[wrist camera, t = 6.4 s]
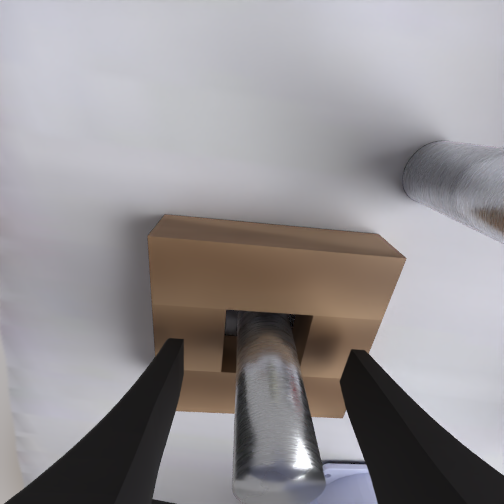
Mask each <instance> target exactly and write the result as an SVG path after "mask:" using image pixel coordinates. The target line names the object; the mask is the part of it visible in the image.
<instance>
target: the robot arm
mask: <svg viewBox="0 0 504 504" xmlns="http://www.w3.org/2000/svg"><path fill="white" fill-rule="evenodd" d="M183 376H184V339H177V338H168V339H167V340H166V341H165V343H164V345H163V346H162V348H161V349H160V351H159V352H158V354H157V355H156V356H155V358H154V359H153V361H152V362H151V363H150V365H149V366H148V367H147V369H146V370H145V371H144V372H143V374H142V375H141V376H140V377H139V379H138V380H137V381H136V382H135V384H134V385H133V386H132V387H131V388H130V390H129V391H128V392H127V393H126V394H125V395H124V396H123V398H122V399H121V400H120V401H119V402H118V403H117V404H116V405H115V406H114V408H113V409H112V410H111V411H110V412H109V413H108V414H107V415H106V416H105V417H104V418H103V419H102V420H101V421H100V422H99V423H98V424H97V425H96V426H95V427H94V428H93V429H92V430H91V431H90V432H89V433H88V434H87V435H86V436H85V437H83V438H82V439H81V440H80V441H79V442H78V443H77V444H76V445H75V446H74V447H73V448H72V449H70V450H69V451H68V452H67V453H66V454H65V455H64V456H63V457H61V458H60V459H59V460H58V461H57V462H55V463H54V464H53V465H52V466H51V467H49V468H48V469H47V470H46V471H45V472H44V473H42V474H41V475H40V476H39V477H38V478H36V479H35V480H34V481H33V482H32V483H30V484H29V485H28V486H27V487H25V488H24V489H23V490H22V491H20V492H19V493H17V494H16V495H15V496H14V497H12V498H11V499H10V500H8V501H7V502H6V503H4V504H151V502H152V498H153V493H154V488H155V483H156V479H157V474H158V470H159V466H160V462H161V458H162V455H163V452H164V448H165V445H166V442H167V438H168V435H169V431H170V428H171V425H172V421H173V418H174V415H175V411H176V408H177V404H178V401H179V397H180V392H181V387H182V381H183ZM340 386H341V391H342V395H343V399H344V403H345V407H346V410H347V413H348V416H349V418H350V421H351V424H352V427H353V430H354V432H355V435H356V438H357V440H358V443H359V446H360V449H361V451H362V454H363V457H364V460H365V462H366V464H333V463H327V464H324V465H323V466H322V467H323V471H324V476H325V481H326V486H325V489H324V491H323V492H322V493H321V495H320V496H319V497H317V498H316V499H315V500H313V501H311V502H309V503H307V504H504V475H502V474H501V473H499V472H498V471H497V470H495V469H494V468H493V467H491V466H490V465H489V464H487V463H486V462H485V461H483V460H482V459H481V458H479V457H478V456H477V455H476V454H474V453H473V452H472V451H470V450H469V449H468V448H467V447H465V446H464V445H463V444H462V443H460V442H459V441H458V440H457V439H456V438H455V437H453V436H452V435H451V434H450V433H449V432H447V431H446V430H445V429H444V428H443V427H442V426H440V425H439V424H438V423H437V422H436V421H435V420H434V419H433V418H432V417H430V416H429V415H428V414H427V413H426V412H425V411H424V410H423V409H422V408H421V407H420V406H419V405H418V404H417V403H416V402H415V401H414V400H413V399H412V398H411V397H410V396H409V395H408V394H407V393H406V392H405V391H404V390H403V389H402V388H401V387H400V386H399V385H398V384H397V383H396V382H395V381H394V380H393V379H392V378H391V377H390V376H389V375H388V374H387V373H386V372H385V371H384V370H383V369H382V368H381V366H380V365H379V364H378V363H377V362H376V361H375V360H374V359H373V358H372V357H371V356H370V355H369V354H368V353H367V352H366V351H365V350H357V349H351V351H350V354H349V356H348V359H347V362H346V365H345V368H344V370H343V373H342V376H341V379H340Z"/></svg>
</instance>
